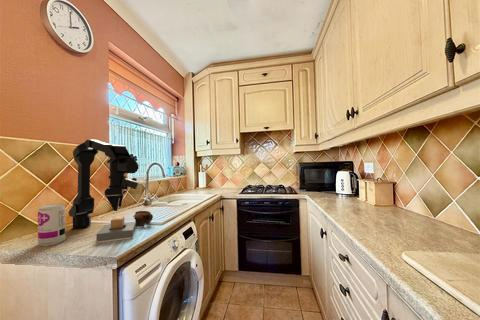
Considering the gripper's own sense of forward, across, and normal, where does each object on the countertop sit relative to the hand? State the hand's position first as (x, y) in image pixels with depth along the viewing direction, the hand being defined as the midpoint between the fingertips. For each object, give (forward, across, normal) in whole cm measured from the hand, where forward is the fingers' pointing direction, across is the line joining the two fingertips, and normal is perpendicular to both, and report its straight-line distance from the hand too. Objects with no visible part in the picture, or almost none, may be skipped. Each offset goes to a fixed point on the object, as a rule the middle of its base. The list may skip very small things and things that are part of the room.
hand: (117, 208), depth 92 cm
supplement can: (+12, +1, +24) cm, 26 cm away
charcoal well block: (+12, 0, 0) cm, 12 cm away
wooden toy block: (+11, 0, 0) cm, 11 cm away
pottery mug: (+12, +13, -9) cm, 20 cm away
